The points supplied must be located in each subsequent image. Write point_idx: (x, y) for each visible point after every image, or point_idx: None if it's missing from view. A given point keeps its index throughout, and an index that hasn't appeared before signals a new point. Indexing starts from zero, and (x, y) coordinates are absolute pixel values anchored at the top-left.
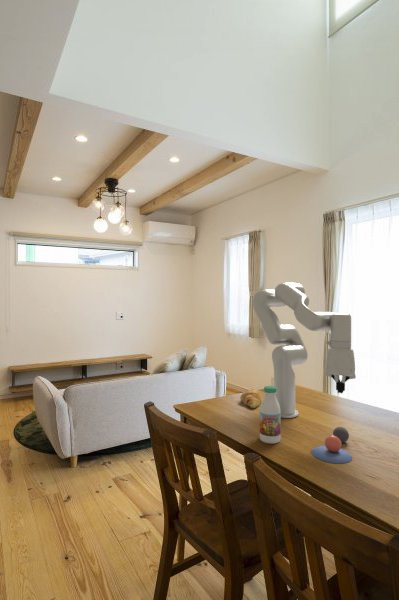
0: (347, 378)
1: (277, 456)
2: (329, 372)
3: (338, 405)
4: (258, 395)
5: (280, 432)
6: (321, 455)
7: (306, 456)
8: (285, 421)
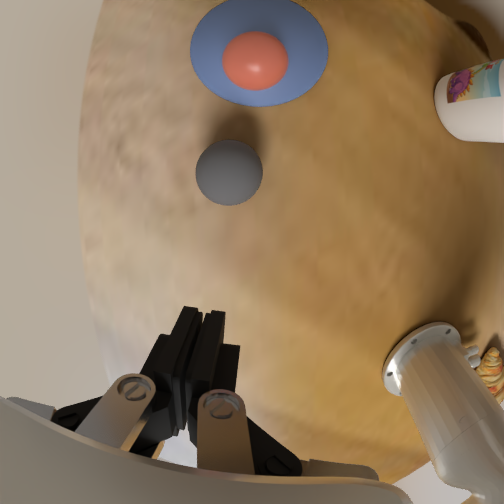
0: (72, 414)
1: (406, 2)
2: (356, 495)
3: None
4: None
5: (449, 97)
6: (290, 23)
7: (335, 11)
8: (428, 296)
